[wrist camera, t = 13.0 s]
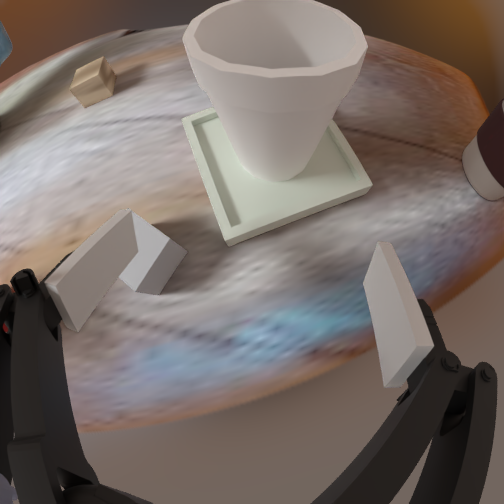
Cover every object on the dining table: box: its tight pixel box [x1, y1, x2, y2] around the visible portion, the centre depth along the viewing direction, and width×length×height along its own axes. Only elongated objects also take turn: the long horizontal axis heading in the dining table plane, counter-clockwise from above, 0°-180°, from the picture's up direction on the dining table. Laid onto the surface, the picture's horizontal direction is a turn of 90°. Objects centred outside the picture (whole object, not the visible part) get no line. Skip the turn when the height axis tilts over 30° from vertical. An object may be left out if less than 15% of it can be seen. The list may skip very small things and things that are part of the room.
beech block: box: [69, 56, 116, 108], centre depth 26 cm, size 4×4×4 cm
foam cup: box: [182, 0, 368, 182], centre depth 16 cm, size 10×9×13 cm
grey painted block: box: [119, 208, 188, 295], centre depth 21 cm, size 4×4×4 cm
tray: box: [181, 107, 373, 246], centre depth 23 cm, size 13×13×2 cm
